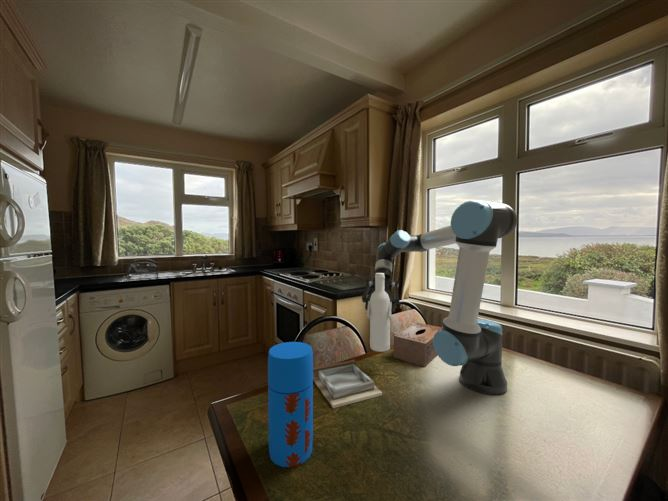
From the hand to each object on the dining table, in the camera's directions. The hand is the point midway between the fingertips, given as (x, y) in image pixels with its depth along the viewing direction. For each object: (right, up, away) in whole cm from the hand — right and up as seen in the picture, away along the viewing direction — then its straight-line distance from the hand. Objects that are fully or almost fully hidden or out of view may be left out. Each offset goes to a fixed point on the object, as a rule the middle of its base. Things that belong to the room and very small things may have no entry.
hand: (378, 317), depth 103 cm
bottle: (+1, -13, +3) cm, 14 cm away
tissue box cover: (+23, -22, +21) cm, 39 cm away
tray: (-13, -22, -8) cm, 27 cm away
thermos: (-28, -23, -37) cm, 52 cm away
